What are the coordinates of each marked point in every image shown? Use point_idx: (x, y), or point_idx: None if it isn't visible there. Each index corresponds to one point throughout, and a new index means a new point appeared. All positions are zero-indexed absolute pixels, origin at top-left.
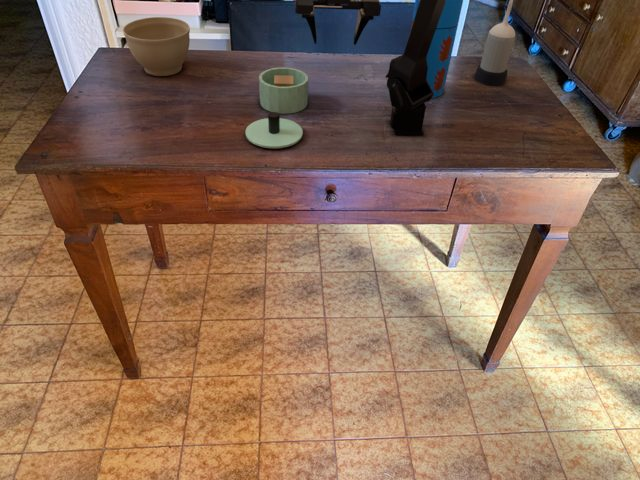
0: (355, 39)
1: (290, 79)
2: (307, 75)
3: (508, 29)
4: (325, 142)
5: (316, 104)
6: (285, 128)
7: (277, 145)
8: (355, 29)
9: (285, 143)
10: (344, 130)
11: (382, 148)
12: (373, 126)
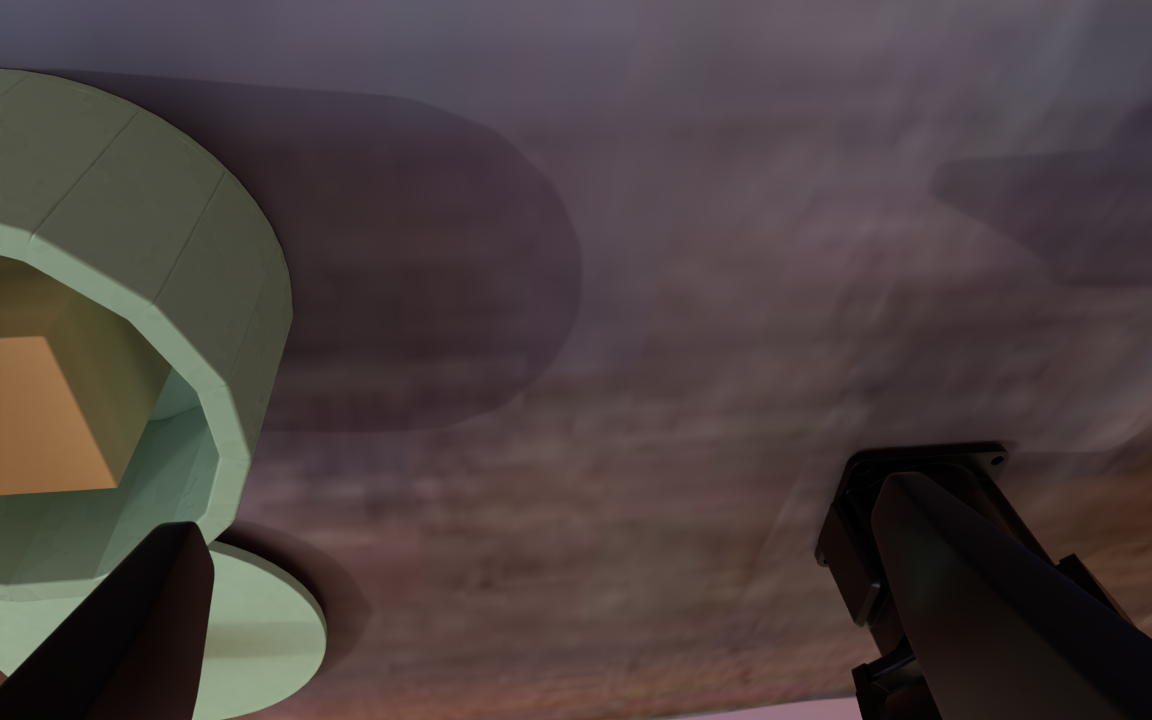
0: (912, 631)
1: (50, 422)
2: (222, 381)
3: None
4: (452, 628)
5: (371, 284)
6: (216, 619)
7: (219, 715)
8: (1051, 654)
9: (254, 702)
10: (558, 543)
11: (714, 633)
12: (731, 497)
